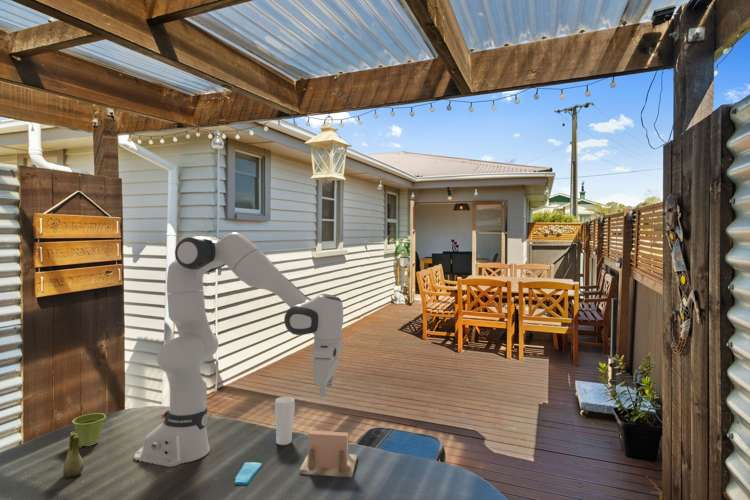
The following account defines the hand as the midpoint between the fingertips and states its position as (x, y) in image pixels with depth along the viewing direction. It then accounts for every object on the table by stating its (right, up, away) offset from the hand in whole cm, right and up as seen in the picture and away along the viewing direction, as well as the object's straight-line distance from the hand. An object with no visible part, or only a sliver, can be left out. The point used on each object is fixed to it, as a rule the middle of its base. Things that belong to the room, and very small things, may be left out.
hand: (326, 391), depth 129 cm
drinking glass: (-17, -24, +16) cm, 33 cm away
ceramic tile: (+1, -22, -2) cm, 22 cm away
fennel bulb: (-73, -22, -8) cm, 77 cm away
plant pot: (-82, -22, +12) cm, 86 cm away
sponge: (-23, -24, -6) cm, 34 cm away
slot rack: (+1, -24, +1) cm, 24 cm away
